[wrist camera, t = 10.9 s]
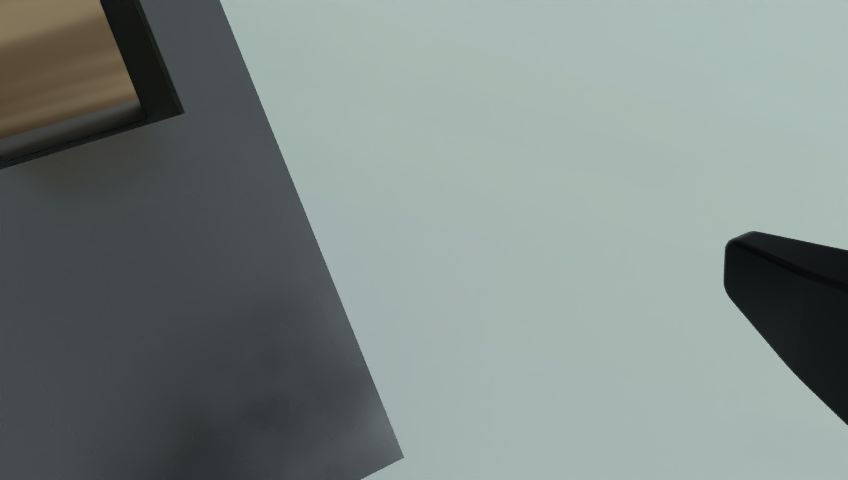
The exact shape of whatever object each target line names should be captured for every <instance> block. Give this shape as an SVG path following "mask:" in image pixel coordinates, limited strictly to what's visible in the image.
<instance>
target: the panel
mask: <svg viewBox="0 0 848 480" xmlns="http://www.w3.org/2000/svg"><path fill="white" fill-rule="evenodd" d="M134 2H135V4H136V7H137V9H138V12H139V14H140V17H141V19H142V22H143V24H144V27H145V29H146V32H147V34H148V37H149V39H150V42H151V44H152V47H153V49H154V51H155V54H156V56H157V59H158V61H159V64H160V66H161V69H162V71H163V74H164V76H165V79H166V81H167V84H168V86H169V89H170V91H171V94H172V96H173V98H174V101H175V103H176V106H177V108H178V111H179V113H180V115H178V116H174V117H171V118H168V119H165V120H161V121H158V122H155V123H151V124H148V125H145V126H142V127H138V128H135V129H132V130H128V131H125V132H122V133H119V134H115V135H112V136H109V137H106V138H102V139H99V140H96V141H92V142H89V143H86V144H83V145H79V146H76V147H73V148H69V149H66V150H63V151H60V152H56V153H53V154H50V155H47V156H43V157H40V158H37V159H33V160H30V161H27V162H24V163H20V164H17V165H14V166H10V167H7V168H4V169H1V170H0V480H361V479H363V478H365V477H366V476H368V475H370V474H372V473H374V472H376V471H378V470H380V469H382V468H384V467H386V466H388V465H390V464H392V463H394V462H396V461H398V460H400V459H402V458H404V456H403V454H402V451H401V449H400V446H399V444H398V442H397V439H396V437H395V434H394V432H393V429H392V427H391V424H390V422H389V419H388V417H387V414H386V412H385V409H384V407H383V404H382V402H381V399H380V397H379V394H378V392H377V389H376V387H375V384H374V382H373V380H372V377H371V375H370V372H369V370H368V367H367V365H366V362H365V360H364V357H363V355H362V352H361V350H360V347H359V345H358V342H357V340H356V337H355V335H354V332H353V330H352V327H351V325H350V323H349V320H348V318H347V315H346V313H345V310H344V308H343V305H342V303H341V300H340V298H339V295H338V293H337V290H336V288H335V285H334V283H333V280H332V278H331V275H330V273H329V270H328V268H327V265H326V263H325V261H324V258H323V256H322V253H321V251H320V248H319V246H318V243H317V241H316V238H315V236H314V233H313V231H312V228H311V226H310V223H309V221H308V218H307V216H306V213H305V211H304V208H303V206H302V203H301V201H300V199H299V196H298V194H297V191H296V189H295V186H294V184H293V181H292V179H291V176H290V174H289V171H288V169H287V166H286V164H285V161H284V159H283V156H282V154H281V151H280V149H279V146H278V144H277V141H276V139H275V137H274V134H273V132H272V129H271V127H270V124H269V122H268V119H267V117H266V114H265V112H264V109H263V107H262V104H261V102H260V99H259V97H258V94H257V92H256V89H255V87H254V84H253V82H252V79H251V77H250V75H249V72H248V70H247V67H246V65H245V62H244V60H243V57H242V55H241V52H240V50H239V47H238V45H237V42H236V40H235V37H234V35H233V32H232V30H231V27H230V25H229V22H228V20H227V17H226V15H225V13H224V10H223V8H222V5H221V3H220V0H134Z"/></svg>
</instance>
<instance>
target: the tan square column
mask: <svg viewBox="0 0 848 480" xmlns="http://www.w3.org/2000/svg"><path fill="white" fill-rule="evenodd" d="M143 119H146V117H145V114H144V112H143V109H142V107H141V104H140V102H139V99H138V97H137V94H136V92H135V89H134V86H133V84H132V81H131V79H130V76H129V74H128V71H127V69H126V66H125V64H124V61H123V59H122V56H121V54H120V51H119V49H118V46H117V44H116V41H115V39H114V36H113V33H112V31H111V28H110V26H109V23H108V21H107V18H106V16H105V13H104V11H103V8H102V6H101V3H100V1H99V0H0V156H1V157H3V158H4V159H6V160H7V161H8V160H11V159H15V158H18V157H21V156H25V155H28V154H31V153H35V152H38V151H41V150H44V149H48V148H51V147H54V146H58V145H61V144H64V143H68V142H71V141H74V140H77V139H81V138H84V137H87V136H91V135H94V134H97V133H101V132H104V131H107V130H110V129H114V128H117V127H120V126H124V125H127V124H130V123H134V122H137V121H140V120H143Z"/></svg>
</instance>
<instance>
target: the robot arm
mask: <svg viewBox="0 0 848 480" xmlns="http://www.w3.org/2000/svg"><path fill="white" fill-rule="evenodd" d="M724 287H725V290H726V293H727V294H728V296H729V298H730V299H731V300H732V301H733V303H734V304H735V305H736V306H737V307H738V308H739V310H740V311H741V312H742V313H743V314H744V316H745V317H746V318H747V319H748V320H749V321H750V323H751V324H752V325H753V326H754V327H755V329H756V330H757V331H758V332H759V333H760V334H761V336H762V337H763V338H764V339H765V340H766V341H767V343H768V344H769V345H770V346H771V347H772V349H773V350H774V351H775V352H776V353H777V354H778V356H779V357H780V358H781V359H782V360H783V362H784V363H785V364H786V365H787V366H788V367H789V368H790V369H791V370H792V371H793V373H794V374H795V375H796V376H797V377H798V378H799V379H800V380H801V381H802V382H803V383H804V384H805V385H806V386H807V387H808V388H809V389H810V390H811V391H812V392H814V393H815V394H816V395H817V396H818V397H819V398H820V399H821V400H822V401H823V402H824V403H825V404H826V405H827V406H828V407H829V408H830V409H831V410H832V411H833V412H834V413H835V414H836V415H837V416H838V417H839V418H840V419H842V420H843V421H844V422H845V423H846V424H847V425H848V250H844V249H839V248H834V247H829V246H824V245H820V244H815V243H810V242H805V241H800V240H795V239H791V238H786V237H781V236H776V235H771V234H767V233H762V232H756V231H751V232H747V233H745V234H743V235H740V236H738V237H736V238H733V239H731V240H730V241H728V243H727V245H726V247H725V259H724Z"/></svg>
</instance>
